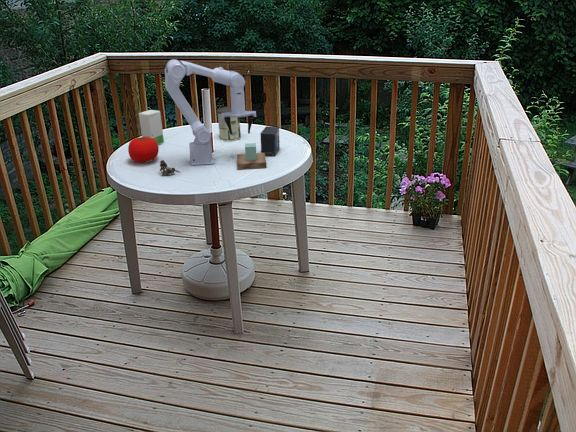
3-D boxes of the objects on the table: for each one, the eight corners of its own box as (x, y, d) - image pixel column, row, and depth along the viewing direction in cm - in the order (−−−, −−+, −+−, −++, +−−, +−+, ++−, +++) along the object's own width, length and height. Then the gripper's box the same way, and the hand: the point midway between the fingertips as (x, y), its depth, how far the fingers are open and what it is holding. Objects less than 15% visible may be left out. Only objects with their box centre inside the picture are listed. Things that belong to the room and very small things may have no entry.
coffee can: (228, 133, 280) (226, 105, 273) (245, 136, 275) (243, 107, 268) (215, 139, 272) (212, 110, 266) (232, 142, 267) (230, 113, 261)
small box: (275, 156, 248) (274, 133, 243) (260, 156, 249) (259, 133, 244) (280, 148, 257) (279, 126, 252) (266, 148, 258) (265, 125, 254)
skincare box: (152, 148, 263) (147, 115, 257) (142, 145, 266) (137, 113, 260) (164, 142, 270) (160, 110, 263) (154, 140, 273) (150, 108, 266)
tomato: (130, 156, 253) (126, 134, 249) (159, 153, 256) (156, 131, 251) (130, 167, 241) (126, 144, 236) (160, 164, 243) (157, 141, 239)
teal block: (245, 160, 237) (244, 147, 234) (245, 157, 241) (245, 143, 238) (256, 160, 237) (255, 146, 234) (256, 156, 241) (255, 143, 238)
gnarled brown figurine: (178, 178, 226) (153, 167, 226) (175, 190, 230) (150, 180, 230) (189, 164, 236) (165, 153, 236) (185, 176, 240) (161, 166, 240)
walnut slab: (237, 169, 235) (237, 164, 234) (237, 159, 246) (236, 154, 244) (266, 168, 236) (266, 162, 235) (264, 158, 246) (264, 152, 245)
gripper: (220, 105, 235) (223, 137, 241) (255, 103, 236) (257, 135, 242) (220, 101, 241) (223, 132, 247) (254, 99, 242) (256, 130, 248)
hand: (240, 133), depth 245 cm, fingers open, 7 cm apart
